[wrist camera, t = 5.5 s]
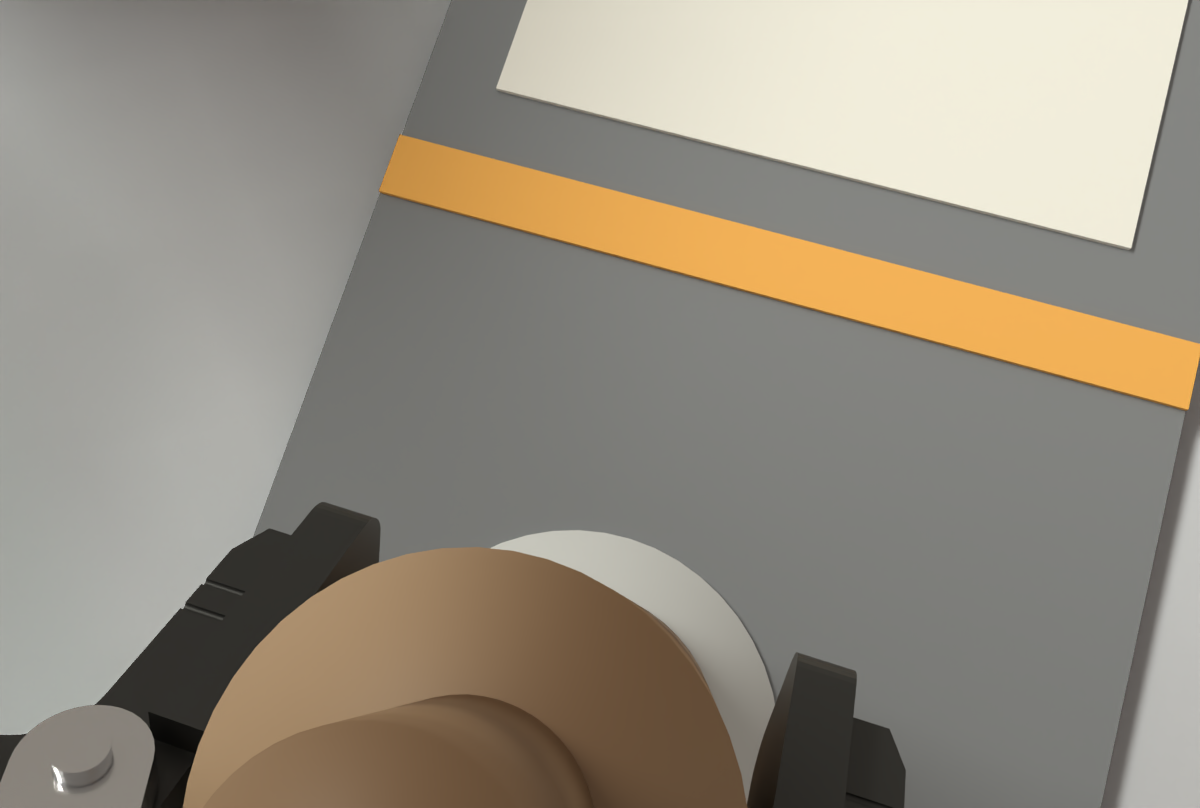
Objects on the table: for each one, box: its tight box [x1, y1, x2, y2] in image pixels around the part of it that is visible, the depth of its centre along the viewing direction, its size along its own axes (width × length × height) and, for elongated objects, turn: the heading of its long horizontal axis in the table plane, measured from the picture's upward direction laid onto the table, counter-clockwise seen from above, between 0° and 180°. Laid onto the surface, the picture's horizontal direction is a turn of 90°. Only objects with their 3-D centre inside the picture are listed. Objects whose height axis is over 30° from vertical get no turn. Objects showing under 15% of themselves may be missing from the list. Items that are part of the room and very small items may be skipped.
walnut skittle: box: [183, 547, 747, 808], centre depth 12 cm, size 5×5×12 cm
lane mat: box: [253, 0, 1200, 808], centre depth 19 cm, size 15×25×1 cm, turn 163°
